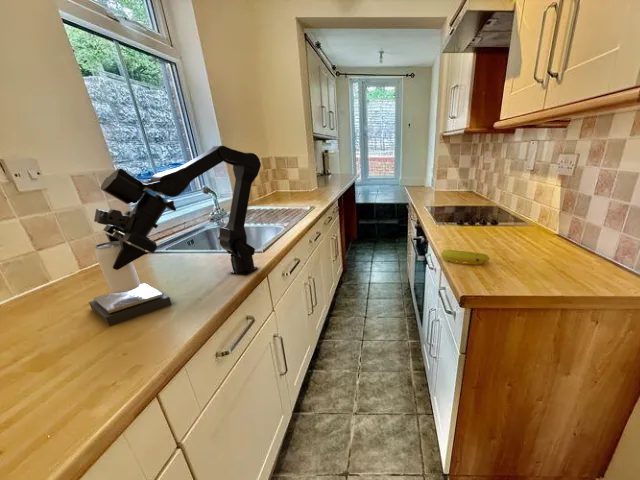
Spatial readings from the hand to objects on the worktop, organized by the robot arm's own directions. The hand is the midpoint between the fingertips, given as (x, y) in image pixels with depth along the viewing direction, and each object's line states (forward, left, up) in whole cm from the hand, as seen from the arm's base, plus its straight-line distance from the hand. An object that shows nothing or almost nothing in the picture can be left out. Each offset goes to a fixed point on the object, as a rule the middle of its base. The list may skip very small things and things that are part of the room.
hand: (110, 266), depth 80 cm
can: (-1, -1, -7) cm, 7 cm away
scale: (-1, -1, -12) cm, 12 cm away
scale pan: (-1, -1, -9) cm, 10 cm away
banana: (-86, -64, -11) cm, 107 cm away
